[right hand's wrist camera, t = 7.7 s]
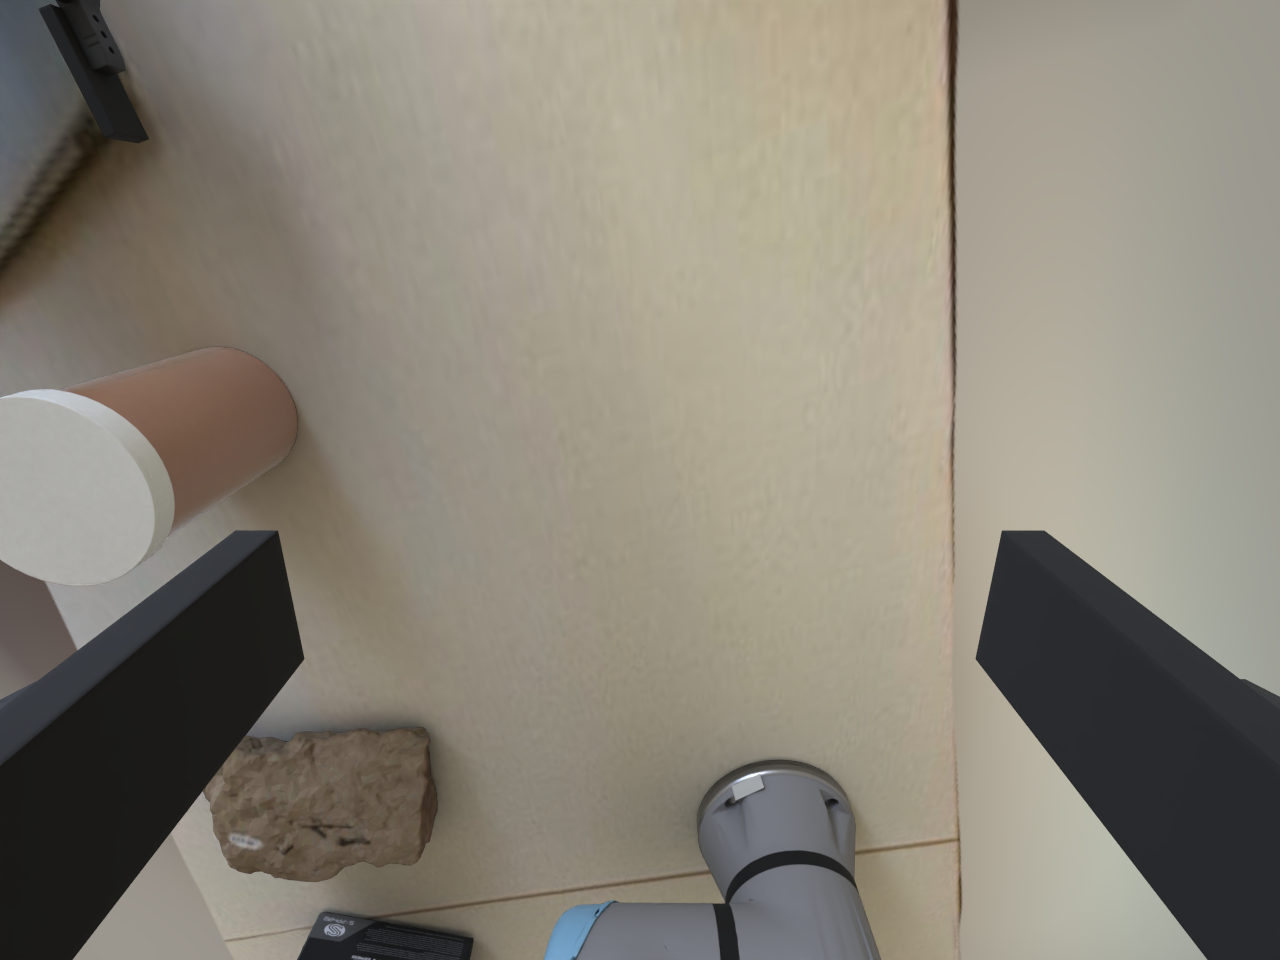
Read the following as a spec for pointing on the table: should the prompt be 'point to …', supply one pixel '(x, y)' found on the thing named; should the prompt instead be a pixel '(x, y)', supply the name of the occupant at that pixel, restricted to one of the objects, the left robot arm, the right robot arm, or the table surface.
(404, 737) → the stone
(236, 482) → the jar
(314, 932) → the graphics card box
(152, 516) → the lid
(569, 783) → the table surface
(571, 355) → the table surface
